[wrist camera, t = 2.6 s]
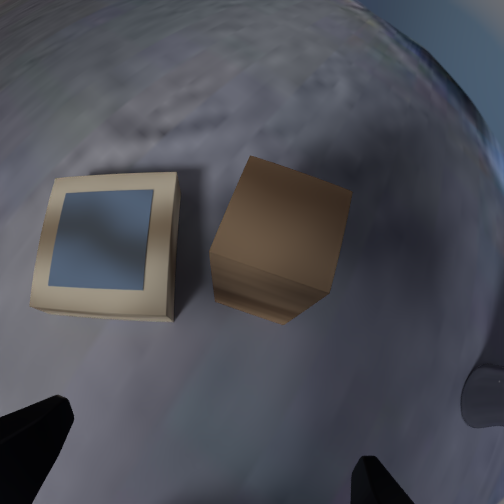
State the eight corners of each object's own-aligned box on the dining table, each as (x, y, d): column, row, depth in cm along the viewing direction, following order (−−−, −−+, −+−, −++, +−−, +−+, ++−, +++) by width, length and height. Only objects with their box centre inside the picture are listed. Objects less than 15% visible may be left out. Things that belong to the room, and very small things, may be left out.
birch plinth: (173, 322, 21) (165, 315, 18) (49, 314, 20) (28, 305, 17) (180, 193, 24) (176, 171, 21) (69, 196, 23) (55, 177, 21)
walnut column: (283, 324, 22) (329, 293, 12) (215, 301, 22) (208, 251, 12) (303, 260, 23) (352, 191, 14) (239, 238, 23) (250, 155, 14)
